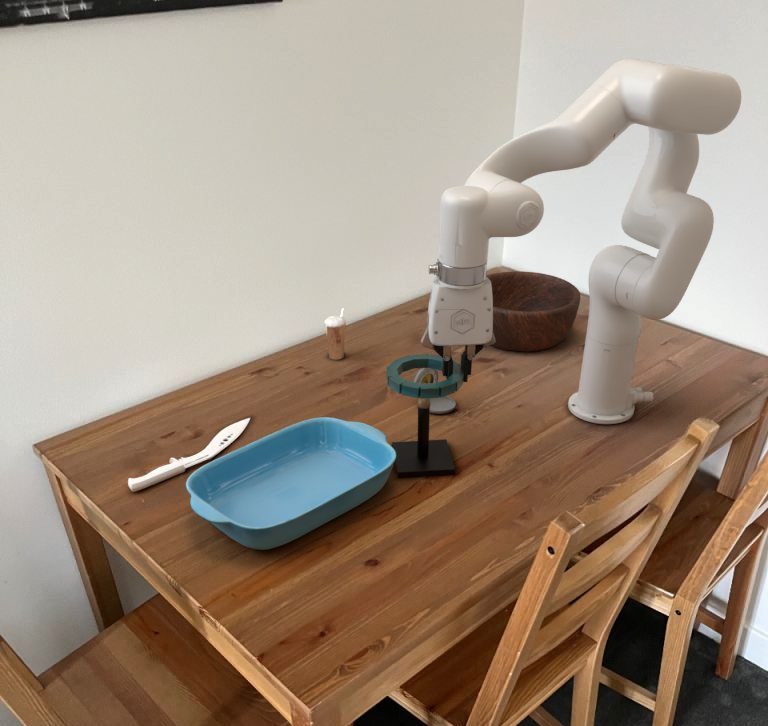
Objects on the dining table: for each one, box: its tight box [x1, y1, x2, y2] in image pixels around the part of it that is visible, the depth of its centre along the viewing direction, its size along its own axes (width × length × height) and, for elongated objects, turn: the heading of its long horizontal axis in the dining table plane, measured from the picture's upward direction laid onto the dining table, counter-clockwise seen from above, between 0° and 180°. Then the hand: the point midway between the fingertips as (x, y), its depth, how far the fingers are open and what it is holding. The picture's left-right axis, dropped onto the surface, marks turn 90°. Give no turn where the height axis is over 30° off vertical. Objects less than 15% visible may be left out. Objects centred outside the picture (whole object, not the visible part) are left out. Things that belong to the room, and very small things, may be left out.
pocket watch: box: [413, 354, 457, 415], centre depth 165 cm, size 8×8×10 cm
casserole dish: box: [185, 416, 396, 551], centre depth 140 cm, size 37×22×7 cm, turn 135°
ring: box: [385, 353, 465, 399], centre depth 142 cm, size 13×13×2 cm
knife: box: [127, 417, 251, 493], centre depth 154 cm, size 30×2×8 cm
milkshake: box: [323, 307, 347, 361], centre depth 183 cm, size 4×5×10 cm
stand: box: [391, 398, 456, 479], centre depth 148 cm, size 10×10×13 cm
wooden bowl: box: [486, 270, 582, 352], centre depth 192 cm, size 25×25×10 cm
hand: (456, 378), depth 143 cm, fingers closed on ring, 2 cm apart
